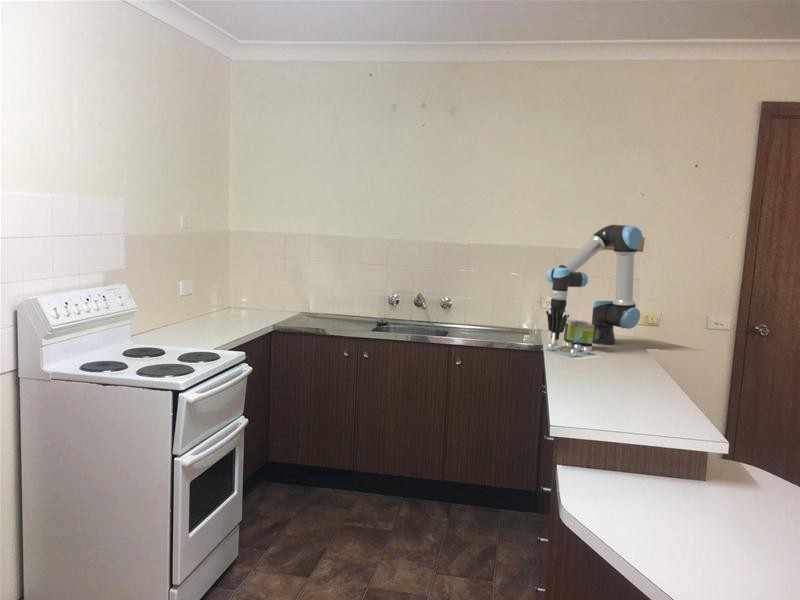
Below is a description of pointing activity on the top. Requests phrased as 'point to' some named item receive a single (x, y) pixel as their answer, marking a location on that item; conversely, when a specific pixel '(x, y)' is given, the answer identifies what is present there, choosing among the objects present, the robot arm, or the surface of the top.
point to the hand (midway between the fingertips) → (554, 345)
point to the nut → (564, 349)
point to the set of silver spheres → (572, 351)
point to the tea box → (579, 333)
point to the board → (579, 354)
